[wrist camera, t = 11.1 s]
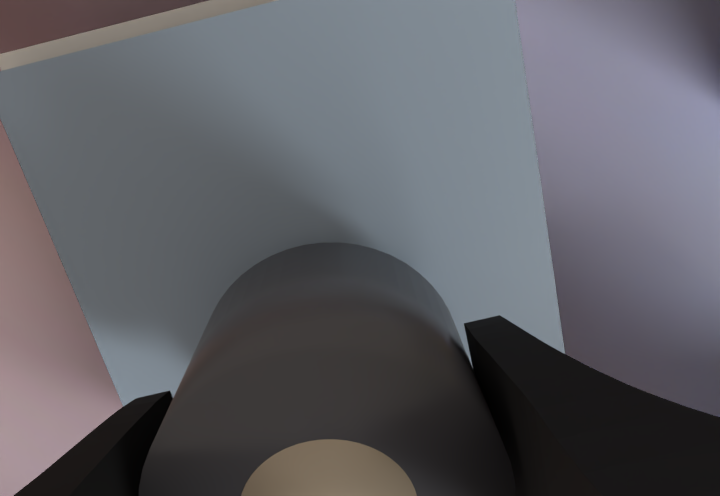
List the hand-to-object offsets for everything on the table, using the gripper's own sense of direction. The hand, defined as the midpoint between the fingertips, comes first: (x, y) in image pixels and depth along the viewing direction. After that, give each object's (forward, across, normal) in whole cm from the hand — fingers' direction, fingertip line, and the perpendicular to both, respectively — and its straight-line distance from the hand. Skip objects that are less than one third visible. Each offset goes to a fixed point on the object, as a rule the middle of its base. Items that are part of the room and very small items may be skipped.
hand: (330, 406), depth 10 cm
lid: (+3, 0, 0) cm, 3 cm away
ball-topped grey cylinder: (+2, 0, 0) cm, 2 cm away
